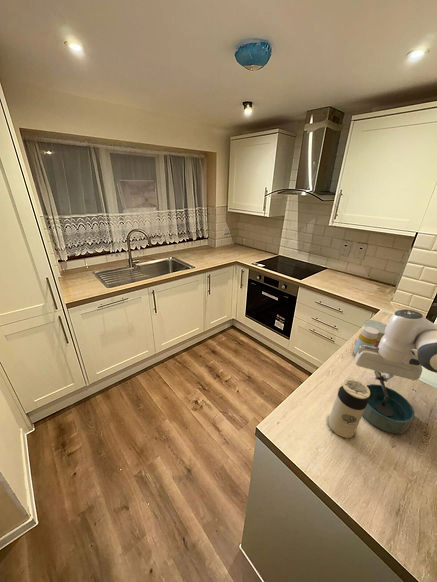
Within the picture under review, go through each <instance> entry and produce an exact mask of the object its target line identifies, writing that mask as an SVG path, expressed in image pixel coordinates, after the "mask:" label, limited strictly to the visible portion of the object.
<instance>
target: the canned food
mask: <svg viewBox="0 0 437 582" xmlns="http://www.w3.org/2000/svg"><path fill="white" fill-rule="evenodd" d="M362 325H363V326H362V328H361V331H360V333H361V332H362V329H363V327H364V326H371V327H374V328H376V329H377V330H378V331H379V333H378V336H377V338H376V339H377V341H376V344H375V346H374V347H378V345H379V343H380V341H381V338H382V337H383V336H384V334H385V328H386V326H387V324H386V323H384V322H381V321H378V320H375V319H374V320H373V319H368V320H365V321H364V322H363V324H362Z"/></svg>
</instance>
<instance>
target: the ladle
mask: <svg viewBox="0 0 437 582" xmlns="http://www.w3.org/2000/svg"><path fill="white" fill-rule="evenodd" d="M378 374H379V376H380V379H379V380H378V381H379V383H380V384H379V385H381V387H382V390H383V393H384V396H385V397H384V400H383V402H382V404H377V405H376V407H375V409H374V410H376V411H377V412H379V413H380V414H382V415H384V416H386V417H388V418H390V419H391V417H392V415H393V412H392V410H391V409H390V408H389V407H388V406H386V405H385V404H386V402H387V400H388V398H389V396H388V393H387V390H386V387H387V386H386V384H385V382H384V381H383V378H382V375H383V374H382V372H379V373H378Z"/></svg>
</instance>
